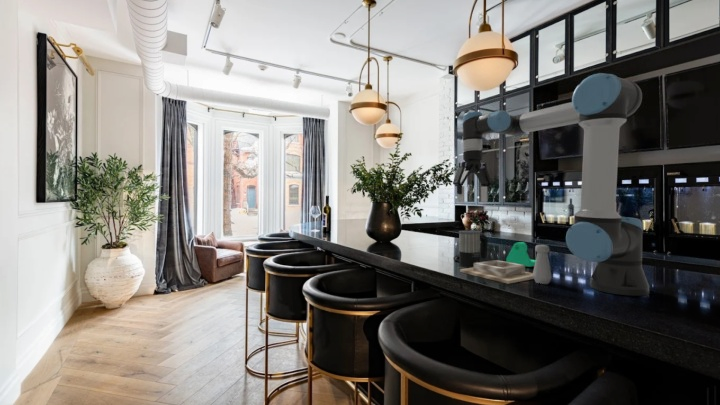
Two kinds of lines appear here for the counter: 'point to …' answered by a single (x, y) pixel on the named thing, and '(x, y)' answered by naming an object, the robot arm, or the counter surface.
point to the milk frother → (471, 248)
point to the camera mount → (520, 255)
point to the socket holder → (499, 271)
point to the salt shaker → (542, 265)
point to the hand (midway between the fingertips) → (472, 202)
